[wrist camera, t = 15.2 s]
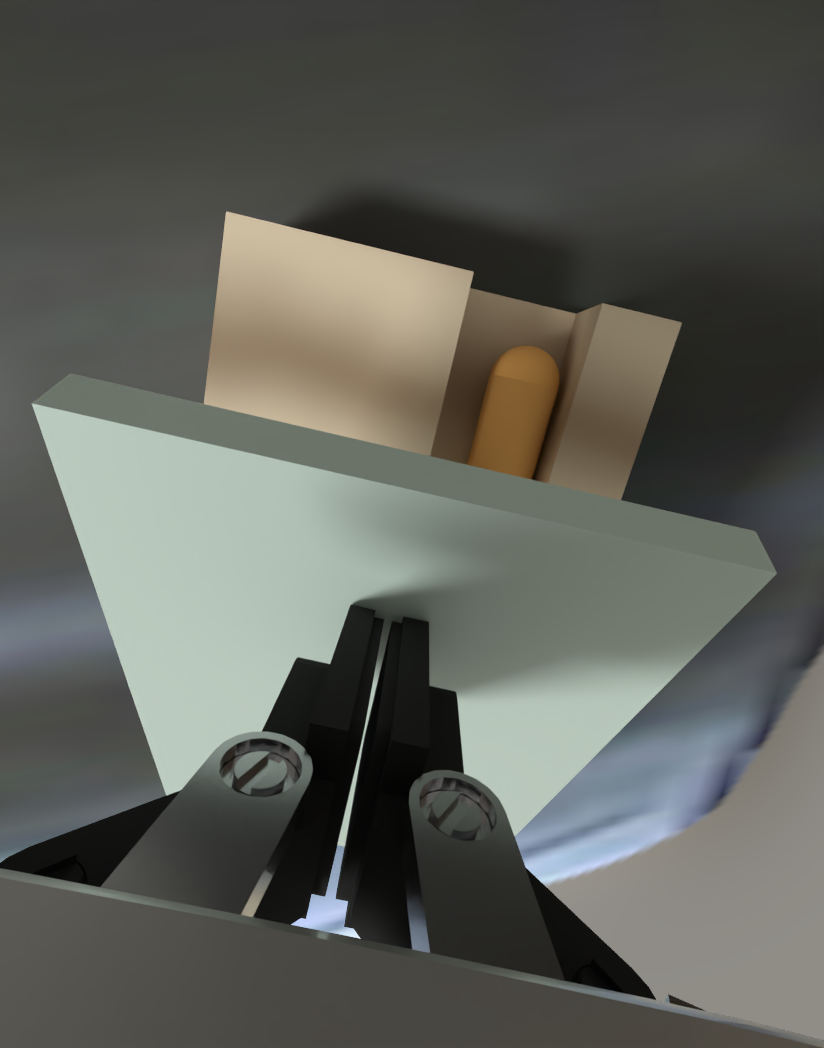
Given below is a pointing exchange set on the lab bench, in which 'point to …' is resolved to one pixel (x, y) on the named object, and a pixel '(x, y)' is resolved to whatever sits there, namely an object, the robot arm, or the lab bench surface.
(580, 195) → the lab bench surface
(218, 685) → the plate
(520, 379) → the rod
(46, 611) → the lab bench surface
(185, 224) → the lab bench surface
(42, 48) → the lab bench surface
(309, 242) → the base
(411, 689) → the robot arm
